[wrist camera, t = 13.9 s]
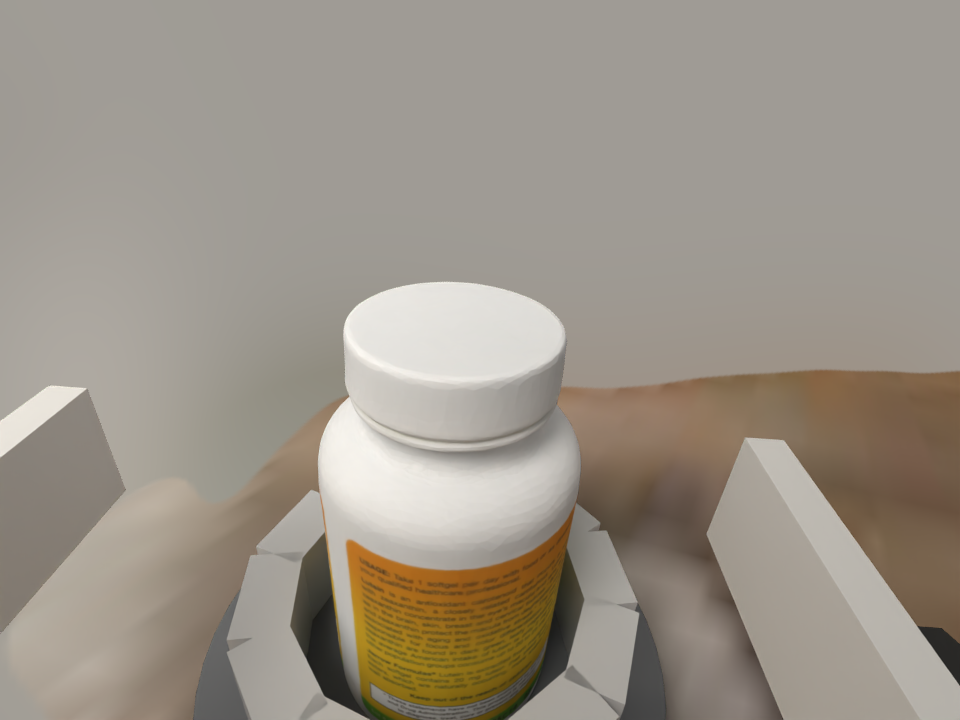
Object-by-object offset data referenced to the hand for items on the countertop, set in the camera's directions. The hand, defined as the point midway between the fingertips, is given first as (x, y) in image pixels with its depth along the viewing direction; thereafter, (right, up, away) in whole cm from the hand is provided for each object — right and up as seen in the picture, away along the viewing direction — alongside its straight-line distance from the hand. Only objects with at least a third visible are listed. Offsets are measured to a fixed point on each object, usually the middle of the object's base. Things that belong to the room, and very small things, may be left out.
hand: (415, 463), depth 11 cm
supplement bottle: (0, -7, +6) cm, 9 cm away
